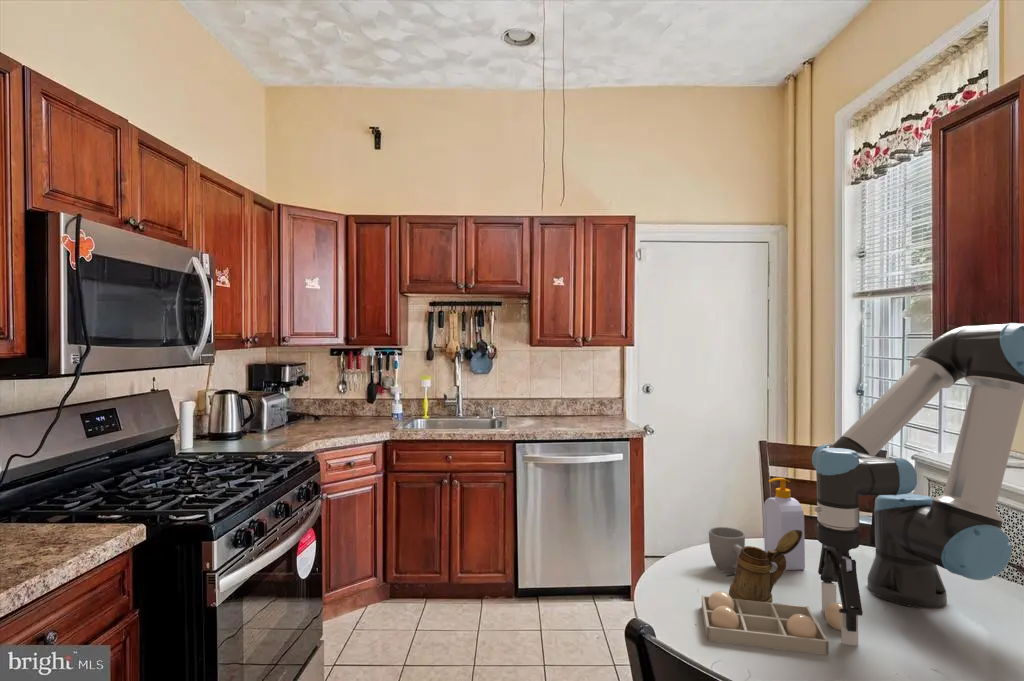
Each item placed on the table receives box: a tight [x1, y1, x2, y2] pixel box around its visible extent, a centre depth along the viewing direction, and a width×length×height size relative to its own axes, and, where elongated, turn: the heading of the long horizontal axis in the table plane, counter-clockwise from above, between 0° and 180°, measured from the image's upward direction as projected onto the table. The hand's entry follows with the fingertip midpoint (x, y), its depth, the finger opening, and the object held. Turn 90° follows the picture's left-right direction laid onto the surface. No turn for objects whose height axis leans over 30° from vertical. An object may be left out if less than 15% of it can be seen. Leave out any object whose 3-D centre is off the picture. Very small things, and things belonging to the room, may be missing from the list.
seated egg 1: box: [708, 590, 734, 611], centre depth 118 cm, size 5×5×5 cm
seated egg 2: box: [711, 606, 739, 630], centre depth 111 cm, size 5×5×5 cm
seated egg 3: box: [787, 614, 817, 639], centre depth 108 cm, size 5×5×5 cm
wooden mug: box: [728, 530, 802, 603], centre depth 124 cm, size 9×14×18 cm, turn 77°
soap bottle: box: [763, 477, 806, 571], centre depth 148 cm, size 9×7×23 cm
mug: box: [708, 526, 746, 574], centre depth 144 cm, size 12×9×10 cm
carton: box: [701, 595, 830, 656], centre depth 113 cm, size 22×14×3 cm
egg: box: [824, 602, 843, 631], centre depth 114 cm, size 5×5×5 cm
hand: (838, 628), depth 113 cm, fingers open, 13 cm apart
